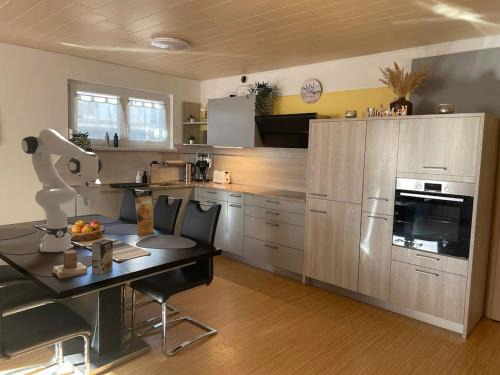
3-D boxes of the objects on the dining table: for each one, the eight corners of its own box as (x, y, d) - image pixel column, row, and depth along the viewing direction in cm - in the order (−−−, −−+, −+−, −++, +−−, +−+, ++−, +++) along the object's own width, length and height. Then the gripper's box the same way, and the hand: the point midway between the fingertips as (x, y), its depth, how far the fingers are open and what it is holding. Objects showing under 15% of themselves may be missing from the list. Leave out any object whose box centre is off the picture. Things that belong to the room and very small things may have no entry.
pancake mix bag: (131, 235, 274) (131, 197, 271) (150, 230, 291) (150, 195, 287) (138, 236, 271) (138, 198, 268) (156, 231, 287) (157, 195, 284)
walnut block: (63, 266, 193) (63, 251, 192) (73, 264, 197) (73, 249, 196) (66, 269, 190) (66, 253, 189) (77, 267, 193) (76, 252, 192)
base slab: (53, 271, 193) (53, 266, 193) (79, 267, 202) (79, 261, 202) (60, 278, 185) (60, 272, 184) (87, 273, 193) (87, 267, 193)
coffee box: (101, 274, 192) (101, 244, 191) (91, 273, 194) (91, 243, 192) (113, 269, 201) (113, 240, 199) (103, 267, 203) (103, 239, 201)
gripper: (77, 179, 209) (77, 203, 210) (90, 184, 194) (89, 210, 195) (88, 179, 213) (88, 203, 215) (102, 184, 198) (101, 209, 200)
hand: (89, 206), depth 205 cm, fingers open, 8 cm apart
